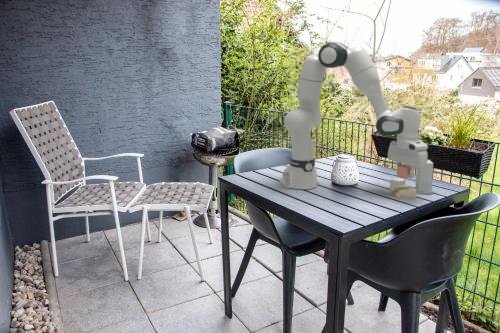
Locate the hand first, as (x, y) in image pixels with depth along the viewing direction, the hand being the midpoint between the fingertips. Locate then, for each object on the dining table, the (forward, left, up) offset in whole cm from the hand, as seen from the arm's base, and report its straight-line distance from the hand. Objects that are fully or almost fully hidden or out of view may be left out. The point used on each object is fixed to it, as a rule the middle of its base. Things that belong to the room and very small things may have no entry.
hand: (405, 173), depth 171 cm
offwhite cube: (-9, +5, -11) cm, 15 cm away
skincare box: (-1, +13, -11) cm, 17 cm away
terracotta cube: (0, 0, -2) cm, 2 cm away
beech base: (0, 0, -11) cm, 11 cm away
